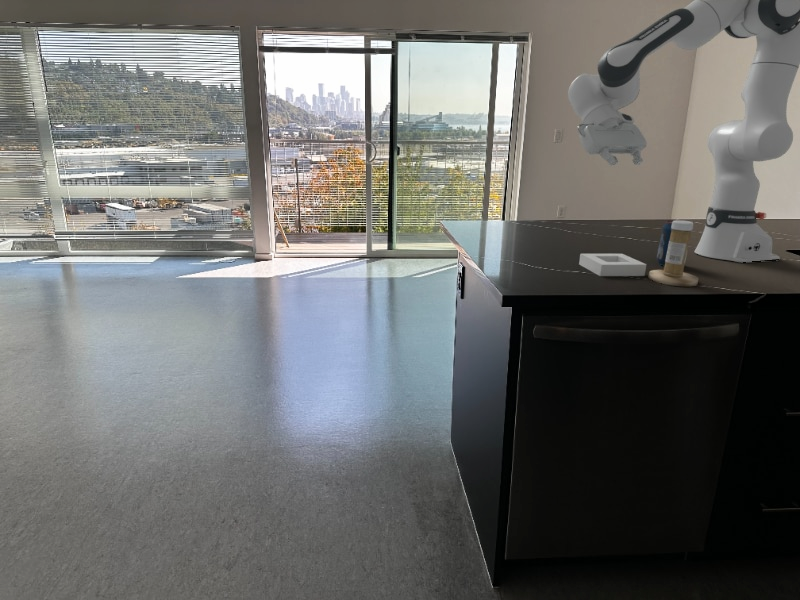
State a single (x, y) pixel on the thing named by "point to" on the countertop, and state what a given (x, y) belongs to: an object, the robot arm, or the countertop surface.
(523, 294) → the countertop surface
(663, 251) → the soda can
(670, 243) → the sprinkles bottle
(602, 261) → the collar
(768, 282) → the countertop surface
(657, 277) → the disc
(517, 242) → the countertop surface
